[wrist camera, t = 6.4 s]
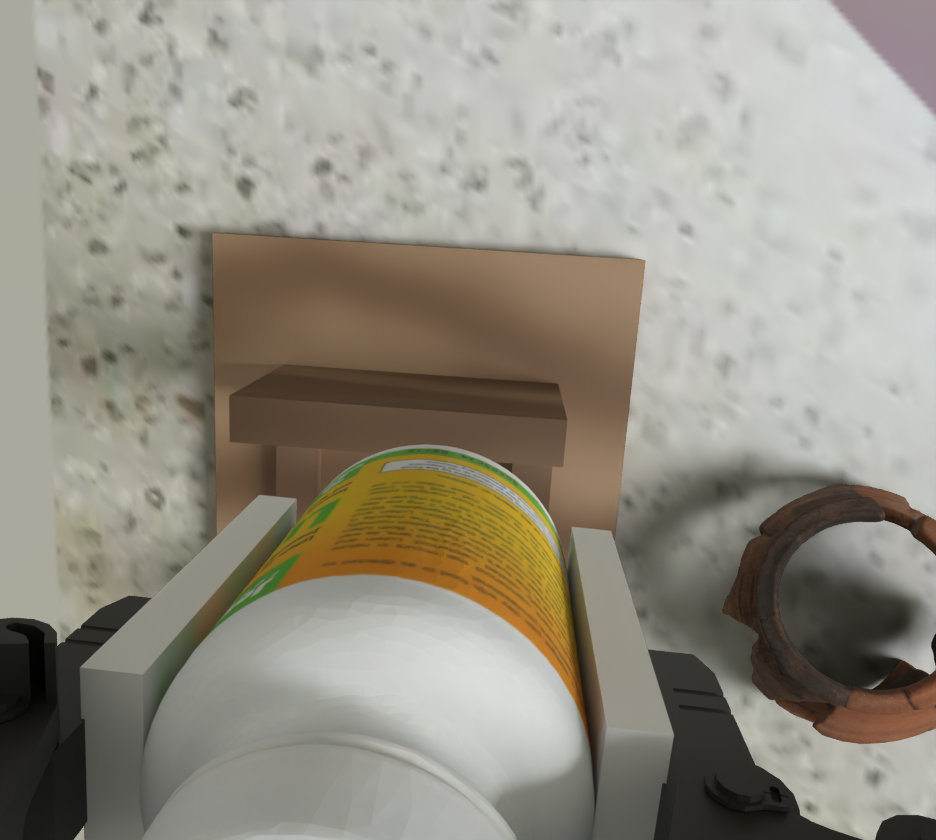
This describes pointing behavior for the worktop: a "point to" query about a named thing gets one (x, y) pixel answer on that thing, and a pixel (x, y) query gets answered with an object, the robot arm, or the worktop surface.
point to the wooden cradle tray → (421, 366)
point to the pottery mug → (778, 661)
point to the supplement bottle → (386, 674)
